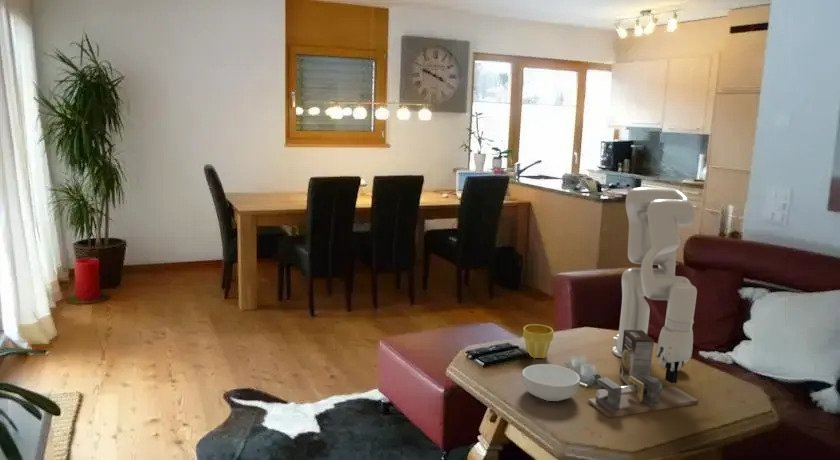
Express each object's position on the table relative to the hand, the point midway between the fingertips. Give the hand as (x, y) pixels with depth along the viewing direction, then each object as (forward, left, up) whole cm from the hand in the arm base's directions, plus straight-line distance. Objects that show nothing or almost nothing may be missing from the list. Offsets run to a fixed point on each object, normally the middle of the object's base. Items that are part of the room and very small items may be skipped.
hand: (670, 381), depth 195 cm
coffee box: (-12, -3, -6) cm, 14 cm away
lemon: (-16, +18, -6) cm, 25 cm away
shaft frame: (+1, -10, -5) cm, 11 cm away
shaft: (+1, -16, -3) cm, 16 cm away
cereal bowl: (-11, -35, -6) cm, 37 cm away
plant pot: (-40, -22, -6) cm, 46 cm away
